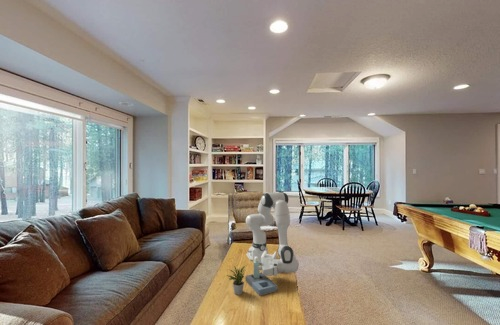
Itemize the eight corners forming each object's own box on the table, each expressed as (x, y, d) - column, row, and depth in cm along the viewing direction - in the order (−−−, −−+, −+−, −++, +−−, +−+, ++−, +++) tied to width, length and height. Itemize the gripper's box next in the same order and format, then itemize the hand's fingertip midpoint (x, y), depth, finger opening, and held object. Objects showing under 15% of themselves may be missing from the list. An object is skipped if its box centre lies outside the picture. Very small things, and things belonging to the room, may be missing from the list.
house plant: (235, 284, 164) (235, 260, 165) (253, 289, 158) (253, 264, 158) (223, 294, 152) (223, 268, 152) (242, 299, 145) (242, 272, 145)
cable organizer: (274, 272, 182) (274, 257, 182) (260, 271, 185) (260, 256, 185) (276, 264, 196) (277, 250, 196) (264, 263, 199) (264, 249, 199)
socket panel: (245, 280, 169) (245, 275, 169) (261, 277, 175) (261, 272, 175) (259, 295, 150) (259, 289, 150) (277, 291, 156) (277, 285, 156)
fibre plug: (253, 276, 170) (253, 256, 170) (259, 276, 170) (259, 256, 170) (253, 278, 166) (253, 258, 166) (259, 278, 166) (259, 258, 166)
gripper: (273, 255, 179) (254, 255, 179) (276, 267, 158) (255, 267, 158) (273, 264, 179) (254, 264, 179) (276, 277, 158) (255, 277, 158)
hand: (255, 265), depth 168 cm, fingers closed on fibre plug, 4 cm apart
